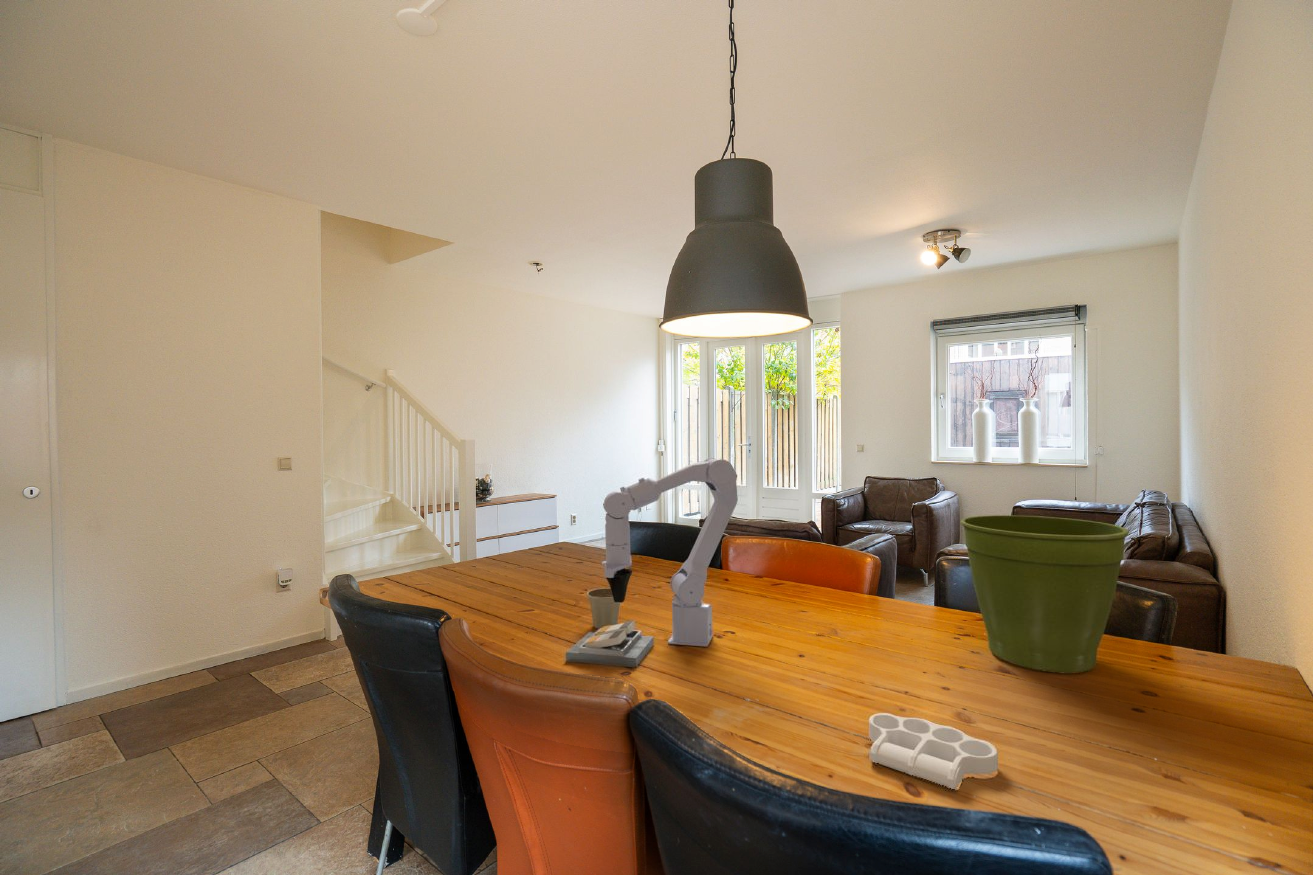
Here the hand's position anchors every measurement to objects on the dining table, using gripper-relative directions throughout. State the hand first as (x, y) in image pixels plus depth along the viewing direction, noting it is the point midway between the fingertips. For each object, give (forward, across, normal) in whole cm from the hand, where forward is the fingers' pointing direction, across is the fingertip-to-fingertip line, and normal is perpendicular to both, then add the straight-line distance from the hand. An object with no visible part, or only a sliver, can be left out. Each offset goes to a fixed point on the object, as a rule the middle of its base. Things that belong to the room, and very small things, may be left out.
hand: (619, 601), depth 138 cm
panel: (+10, +5, 0) cm, 11 cm away
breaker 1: (+6, +2, 0) cm, 6 cm away
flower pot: (+10, -13, -8) cm, 19 cm away
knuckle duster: (+11, +36, +60) cm, 71 cm away
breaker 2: (+6, +9, 0) cm, 11 cm away
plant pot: (+11, -11, +91) cm, 92 cm away
